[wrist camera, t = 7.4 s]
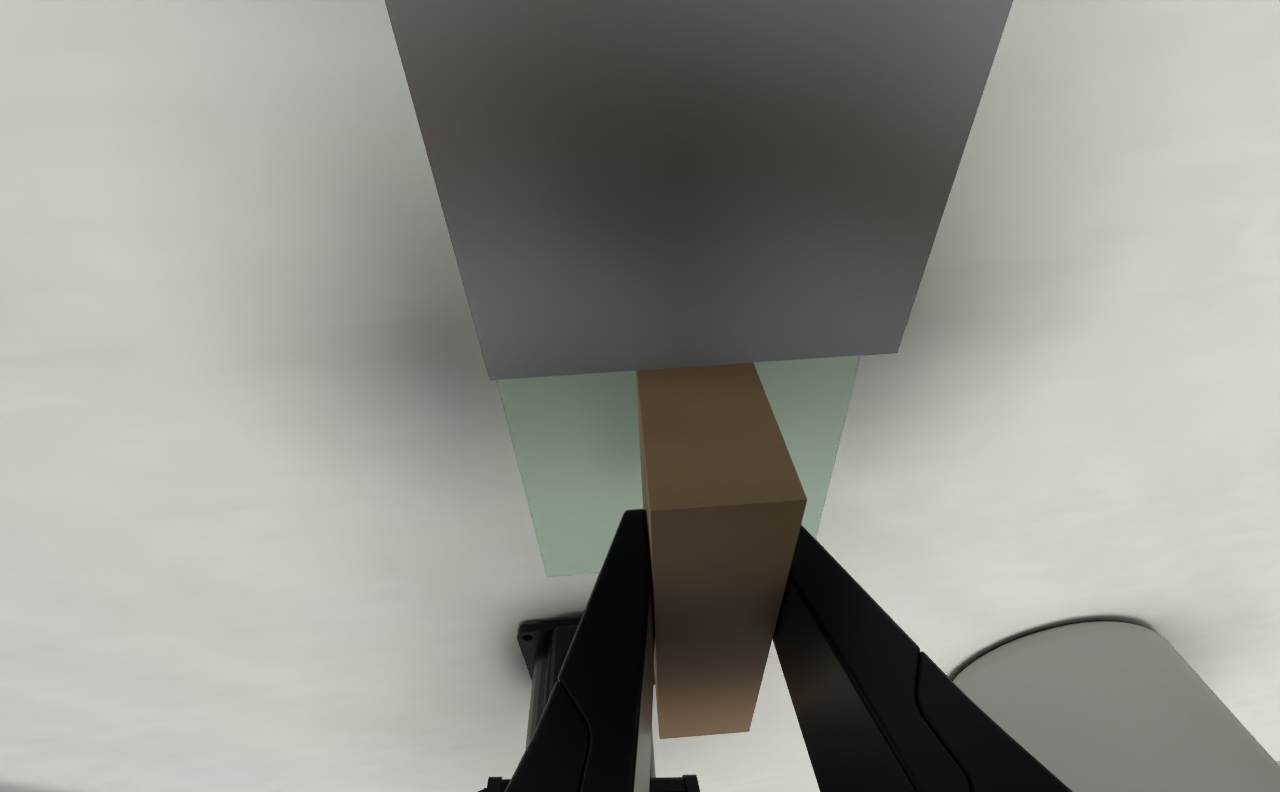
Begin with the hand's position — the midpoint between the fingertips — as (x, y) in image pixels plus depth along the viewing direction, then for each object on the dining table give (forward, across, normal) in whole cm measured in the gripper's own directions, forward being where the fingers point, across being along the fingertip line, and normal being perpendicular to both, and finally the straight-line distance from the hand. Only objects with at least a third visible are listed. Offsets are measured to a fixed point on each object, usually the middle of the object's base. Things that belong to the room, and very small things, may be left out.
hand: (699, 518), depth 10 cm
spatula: (+2, 0, -2) cm, 3 cm away
